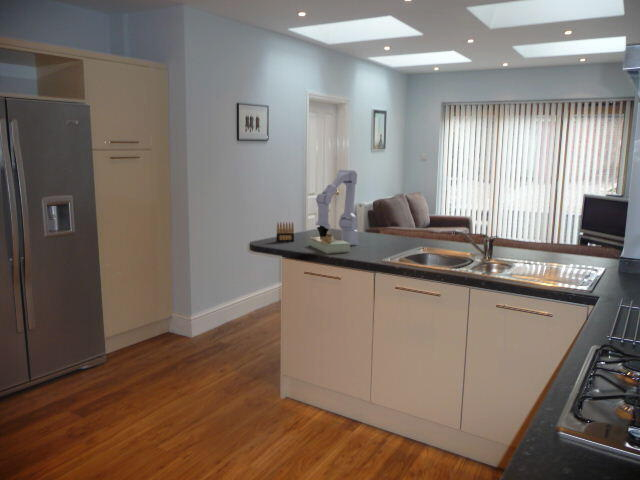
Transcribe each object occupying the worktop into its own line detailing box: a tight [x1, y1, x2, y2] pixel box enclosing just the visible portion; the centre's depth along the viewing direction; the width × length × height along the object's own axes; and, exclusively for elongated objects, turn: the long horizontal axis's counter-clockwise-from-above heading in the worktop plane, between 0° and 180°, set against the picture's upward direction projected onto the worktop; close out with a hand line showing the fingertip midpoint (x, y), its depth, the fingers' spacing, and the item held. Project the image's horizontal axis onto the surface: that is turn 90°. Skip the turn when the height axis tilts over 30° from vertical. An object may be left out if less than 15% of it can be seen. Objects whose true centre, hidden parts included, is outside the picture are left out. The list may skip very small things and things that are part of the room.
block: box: [321, 236, 331, 244], centre depth 285 cm, size 3×6×3 cm, turn 24°
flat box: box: [309, 238, 351, 255], centre depth 294 cm, size 14×24×5 cm, turn 24°
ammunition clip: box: [275, 221, 295, 243], centre depth 313 cm, size 11×2×12 cm, turn 102°
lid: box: [309, 232, 343, 244], centre depth 297 cm, size 14×16×4 cm
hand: (322, 239), depth 289 cm, fingers closed
